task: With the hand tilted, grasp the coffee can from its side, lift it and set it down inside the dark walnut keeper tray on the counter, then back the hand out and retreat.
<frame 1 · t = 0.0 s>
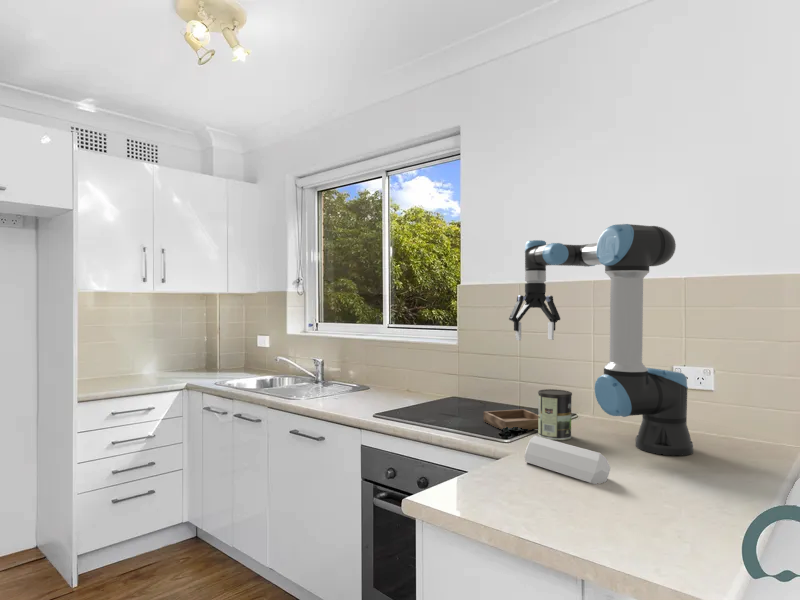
hand: (534, 339, 201), 28 cm above the worktop, tool pointing down, fingers open, 13 cm apart
crystal: (564, 472, 138), on the worktop
coffee can: (554, 436, 172), on the worktop
keeper tray: (515, 425, 186), on the worktop
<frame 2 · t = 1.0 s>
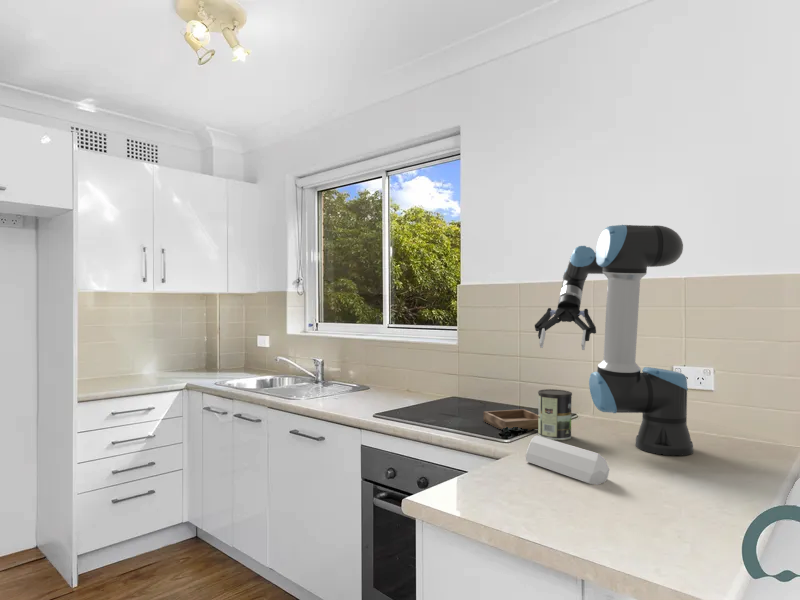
hand: (561, 346, 181), 28 cm above the worktop, tool tilted 45°, fingers open, 13 cm apart
nothing on the worktop moved.
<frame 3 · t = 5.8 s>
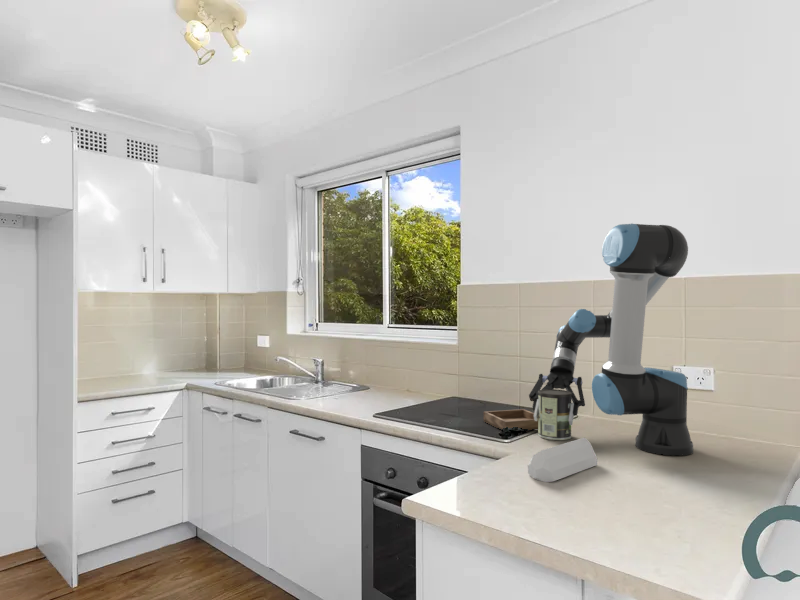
hand: (552, 420, 169), 5 cm above the worktop, tool tilted 45°, fingers closed on coffee can, 10 cm apart
coffee can: (554, 436, 172), on the worktop, touching gripper
when the fingers open (8 cm above the worktop, at t = 11.4 s): coffee can drops 1 cm, resting on keeper tray.
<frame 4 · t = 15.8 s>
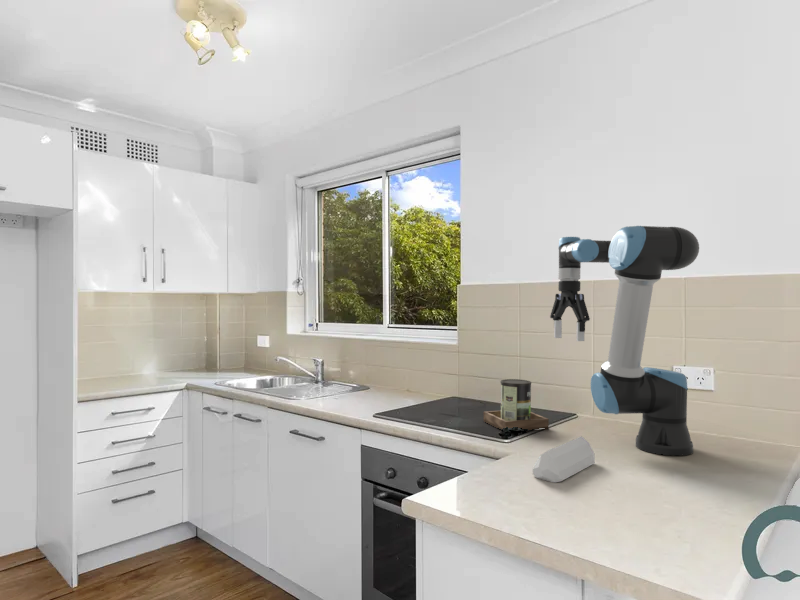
hand: (568, 339, 195), 29 cm above the worktop, tool pointing down, fingers open, 13 cm apart
coffee can: (515, 423, 186), point 1 cm above the worktop, touching keeper tray
at the end: coffee can 0.1 cm from the keeper tray (horizontally); coffee can tilted 0°; the gripper is holding nothing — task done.
